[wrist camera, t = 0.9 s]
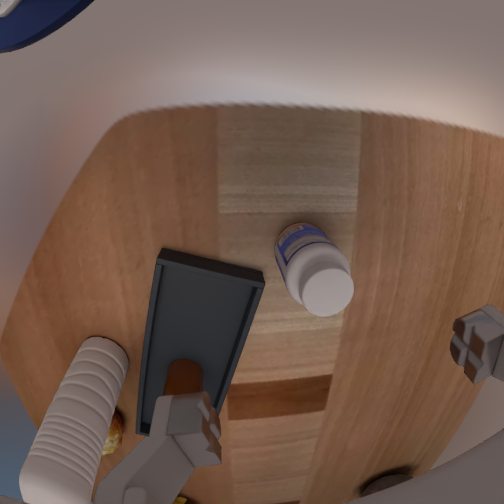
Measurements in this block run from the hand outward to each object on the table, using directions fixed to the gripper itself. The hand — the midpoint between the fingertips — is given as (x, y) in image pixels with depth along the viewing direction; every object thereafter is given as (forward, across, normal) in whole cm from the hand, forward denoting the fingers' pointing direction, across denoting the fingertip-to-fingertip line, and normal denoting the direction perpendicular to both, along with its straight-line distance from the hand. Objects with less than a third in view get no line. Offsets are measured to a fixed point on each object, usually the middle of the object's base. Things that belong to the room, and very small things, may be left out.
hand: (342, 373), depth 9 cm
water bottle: (+22, +24, +13) cm, 35 cm away
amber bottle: (+22, +13, +17) cm, 30 cm away
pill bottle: (+22, -3, +5) cm, 23 cm away
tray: (+22, +12, +16) cm, 30 cm away
